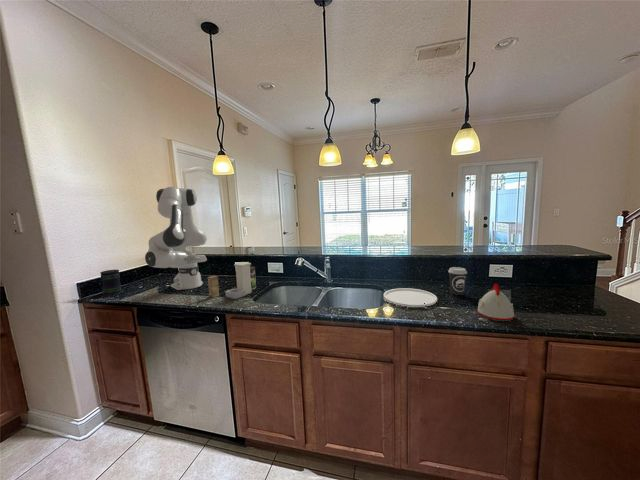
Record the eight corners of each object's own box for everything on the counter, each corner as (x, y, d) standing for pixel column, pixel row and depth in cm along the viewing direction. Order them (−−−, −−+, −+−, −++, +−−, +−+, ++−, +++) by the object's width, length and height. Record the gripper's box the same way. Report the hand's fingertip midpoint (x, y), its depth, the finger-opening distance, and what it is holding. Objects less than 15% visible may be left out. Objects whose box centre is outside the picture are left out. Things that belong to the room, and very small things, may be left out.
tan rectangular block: (209, 296, 162) (207, 277, 161) (215, 294, 166) (213, 275, 164) (213, 297, 160) (211, 278, 158) (219, 295, 163) (218, 276, 162)
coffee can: (258, 286, 180) (257, 266, 179) (252, 290, 170) (250, 269, 169) (244, 285, 183) (243, 265, 181) (237, 290, 173) (235, 269, 171)
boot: (225, 297, 160) (223, 266, 157) (244, 290, 172) (242, 261, 169) (235, 299, 155) (233, 267, 153) (253, 292, 167) (252, 263, 165)
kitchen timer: (480, 319, 117) (482, 287, 115) (474, 308, 130) (475, 279, 128) (518, 323, 112) (520, 289, 110) (508, 311, 125) (510, 281, 123)
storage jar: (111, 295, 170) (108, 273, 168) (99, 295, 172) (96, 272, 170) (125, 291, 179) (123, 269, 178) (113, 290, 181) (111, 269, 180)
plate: (398, 312, 129) (398, 307, 129) (375, 294, 157) (375, 290, 156) (448, 306, 135) (449, 301, 134) (418, 290, 162) (418, 286, 162)
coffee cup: (468, 293, 152) (469, 268, 150) (463, 298, 145) (464, 271, 143) (450, 290, 158) (451, 266, 157) (445, 294, 151) (445, 269, 150)
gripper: (193, 251, 136) (213, 252, 149) (165, 255, 144) (187, 256, 157) (193, 263, 136) (213, 263, 148) (165, 267, 143) (187, 267, 156)
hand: (199, 260), depth 153 cm, fingers open, 8 cm apart
